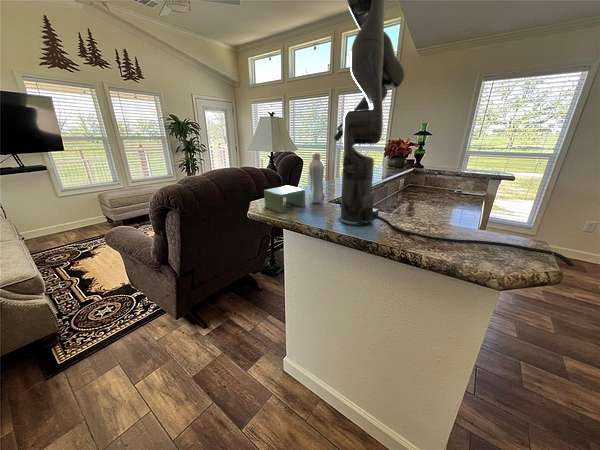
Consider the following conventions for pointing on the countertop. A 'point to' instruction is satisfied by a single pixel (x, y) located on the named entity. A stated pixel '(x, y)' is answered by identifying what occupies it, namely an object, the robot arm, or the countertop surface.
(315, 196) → the plastic bottle
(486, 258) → the countertop surface
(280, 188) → the mint green box
